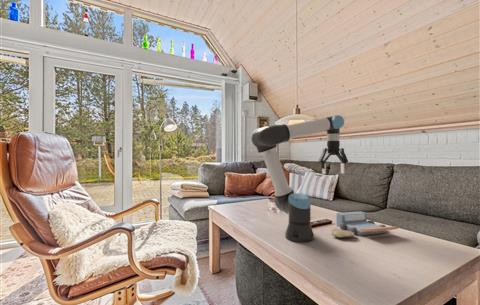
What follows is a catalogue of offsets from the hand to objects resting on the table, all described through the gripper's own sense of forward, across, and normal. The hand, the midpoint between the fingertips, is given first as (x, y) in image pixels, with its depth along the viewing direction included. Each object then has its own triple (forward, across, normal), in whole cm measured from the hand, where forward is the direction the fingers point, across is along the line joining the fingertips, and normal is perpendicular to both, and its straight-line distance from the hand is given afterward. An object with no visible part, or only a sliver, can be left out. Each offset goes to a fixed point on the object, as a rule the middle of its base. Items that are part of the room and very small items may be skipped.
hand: (333, 173), depth 149 cm
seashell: (+33, -5, -20) cm, 39 cm away
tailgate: (+29, +9, -23) cm, 38 cm away
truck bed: (+33, +9, -15) cm, 37 cm away
